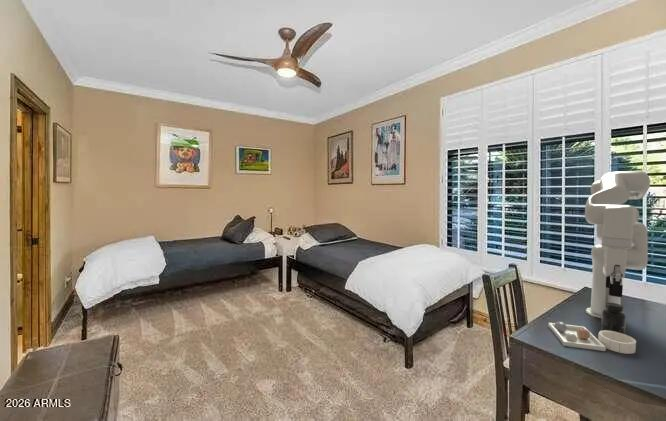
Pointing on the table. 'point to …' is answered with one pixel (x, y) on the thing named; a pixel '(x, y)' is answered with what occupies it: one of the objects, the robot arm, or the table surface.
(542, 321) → the table surface
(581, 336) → the pebble
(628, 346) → the bowl
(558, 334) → the parts tray
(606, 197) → the robot arm
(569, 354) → the table surface
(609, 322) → the supplement bottle
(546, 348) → the table surface
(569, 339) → the pebble
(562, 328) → the pebble
